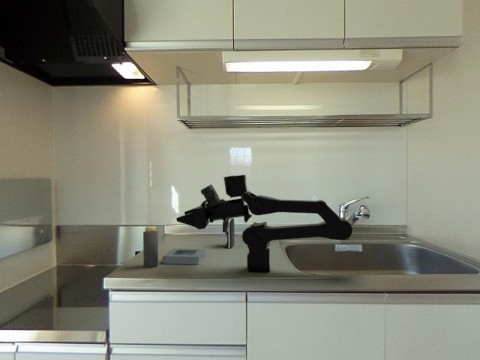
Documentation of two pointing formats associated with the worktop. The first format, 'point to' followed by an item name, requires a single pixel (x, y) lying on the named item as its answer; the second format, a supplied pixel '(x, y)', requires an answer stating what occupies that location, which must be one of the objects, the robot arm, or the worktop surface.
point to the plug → (150, 247)
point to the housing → (184, 256)
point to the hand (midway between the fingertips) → (180, 216)
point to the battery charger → (229, 232)
